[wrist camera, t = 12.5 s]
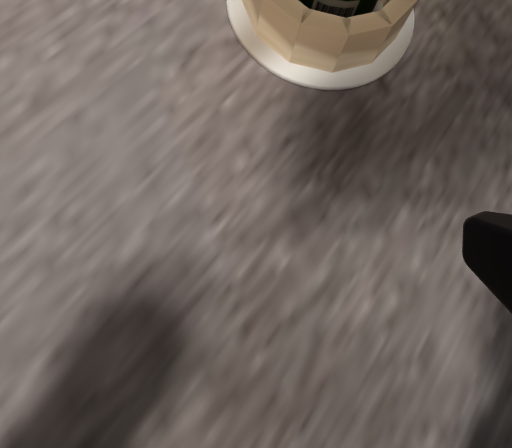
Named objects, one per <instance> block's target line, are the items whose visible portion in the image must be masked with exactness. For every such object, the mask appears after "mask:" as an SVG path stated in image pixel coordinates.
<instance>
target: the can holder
mask: <svg viewBox="0 0 512 448" xmlns="http://www.w3.org/2000/svg"><path fill="white" fill-rule="evenodd" d="M417 1H418V0H378V1H377V3H376V5H375V7H374V9H373V12H371V13H367V14H362V15H357V16H352V17H348V18H345V17H340V16H336V15H332V14H328V13H324V12H320V11H316V10H312V9H309V8H307V7H306V6H305V5H304V4H302V3H301V2H300V1H298V0H227V12H228V17H229V21H230V24H231V27H232V29H233V31H234V33H235V36H236V37H237V39H238V40H239V42H240V44H241V45H242V47H243V48H244V49H245V50H246V51H247V53H248V54H249V55H250V56H251V57H252V58H253V59H254V60H255V61H256V62H258V63H259V64H260V65H261V66H263V67H264V68H265V69H267V70H268V71H269V72H271V73H273V74H275V75H276V76H278V77H280V78H282V79H284V80H287V81H289V82H291V83H294V84H297V85H300V86H304V87H308V88H313V89H319V90H345V89H351V88H357V87H360V86H363V85H366V84H369V83H371V82H373V81H375V80H377V79H379V78H381V77H382V76H384V75H385V74H387V73H388V72H389V71H390V70H391V69H392V68H393V67H394V66H395V65H396V64H397V63H398V62H399V60H400V59H401V58H402V56H403V55H404V53H405V51H406V50H407V48H408V46H409V44H410V41H411V38H412V36H413V30H414V18H415V16H414V7H415V5H416V3H417Z"/></svg>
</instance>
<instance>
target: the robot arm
mask: <svg viewBox="0 0 512 448" xmlns="http://www.w3.org/2000/svg"><path fill="white" fill-rule="evenodd" d="M462 255H463V258H464V261H465V263H466V264H467V266H468V267H469V268H470V269H471V270H472V271H473V272H474V273H475V274H476V276H477V277H478V278H479V279H480V280H481V281H482V282H483V283H484V284H485V285H486V286H487V287H488V289H489V290H490V291H491V292H492V293H493V294H494V295H495V296H496V297H497V298H498V299H499V300H500V302H501V303H502V304H503V305H504V306H505V307H506V308H507V309H508V310H509V311H510V312H511V313H512V215H511V214H503V213H496V212H488V211H485V212H481V213H478V214H476V215H473V216H471V217H469V218H467V219H466V220H465V222H464V224H463V246H462Z"/></svg>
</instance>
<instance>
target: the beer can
mask: <svg viewBox="0 0 512 448" xmlns="http://www.w3.org/2000/svg"><path fill="white" fill-rule="evenodd" d="M298 1H300V2H301V3H302V4H304V5H305V6H306V7H307V8H309V9H312V10H316V11H320V12H324V13H328V14H332V15H336V16H340V17H345V18H348V17H352V16H357V15H362V14H367V13H371V12H373V9H374V7H375V5H376V3H377V1H378V0H298Z"/></svg>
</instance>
